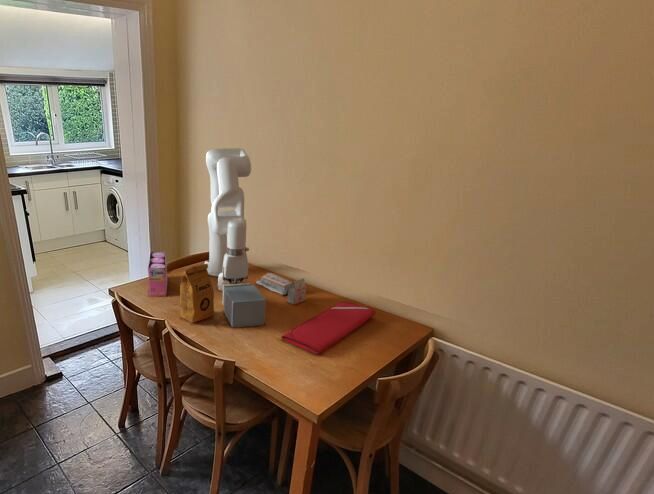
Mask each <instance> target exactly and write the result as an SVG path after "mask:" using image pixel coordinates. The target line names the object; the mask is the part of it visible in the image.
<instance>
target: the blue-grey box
mask: <svg viewBox="0 0 654 494" xmlns="http://www.w3.org/2000/svg"><path fill="white" fill-rule="evenodd" d="M266 303H267V300H266V298H265V297H264V296H263V294H262V293H261V292H260V290H259V289H258V288H257V287H256V285H250V286H239V287H225V288H224V305H223V313H224V314H225V316H226V318H227V320H228V322H229V324H230V326H231V328H244V327H254V326H255V327H256V326H265V319H266V317H265V315H266Z"/></svg>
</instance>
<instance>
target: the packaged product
mask: <svg viewBox="0 0 654 494" xmlns="http://www.w3.org/2000/svg"><path fill="white" fill-rule="evenodd" d="M255 284H257V285H259V286H262V287H264V288H266V289H267V290H269V291H270V292H275V293H277V294H280V295H282V296H286V295H288V289H289V287H290V286H291V284H292V281H291V280H289V279H287V278H285V277H283V276H280V275H277V274H276V273H272V272H266V273H265V274H264V275H262V276H260V279H259V280H257V281H255Z"/></svg>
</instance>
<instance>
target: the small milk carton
mask: <svg viewBox="0 0 654 494" xmlns="http://www.w3.org/2000/svg"><path fill="white" fill-rule="evenodd" d="M306 286H307V285H306V282H305V278H304V277H303V278H299V279H296V280H293V281H292V284H291V286H290V287H289V289H288V294H287V303H289V304H291V305H297V304H301V303H303V302H305V301H306V293H307V292H306V291H307V287H306Z"/></svg>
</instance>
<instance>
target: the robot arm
mask: <svg viewBox="0 0 654 494" xmlns="http://www.w3.org/2000/svg"><path fill="white" fill-rule="evenodd" d="M205 165H206V167H207V171H208V174H209V178H210V204H211V208H210V212H209V213H208V215H207V225H208V236H209V243H208V244H209V245H208V246H209V249H208V253H209V255H208V256H209V257H208V259H209V260H208V261H207V260H205V261H204V263H203V264H206V263H207V264H208V268H207V271H208V274H209V276H211V277H216V278H218V276H219V274H220V273H223V278H222V279H223V280H224V281H229V282H230V283H229V284H242V282H243V281H244V280H248V278H249V262H248V254H247V252H249V251H250V247H247V246H246V245H247V219H246V218H245V192H244V190H243V188H242V187H240V183H239V178H248V177H250V175H251V172H252V163H251V159H250V157H249V155H248V154H247V152H246V151H245V149H244V148H240V147H239V148H238V147H235V148H234V147H233V148H232V147H231V148H227V147H226V148H213V149H209V150H208V151H207V152H206V155H205ZM221 208H224V209H222V210H221ZM225 208H233V209H225ZM219 209H220V210H219Z"/></svg>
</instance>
